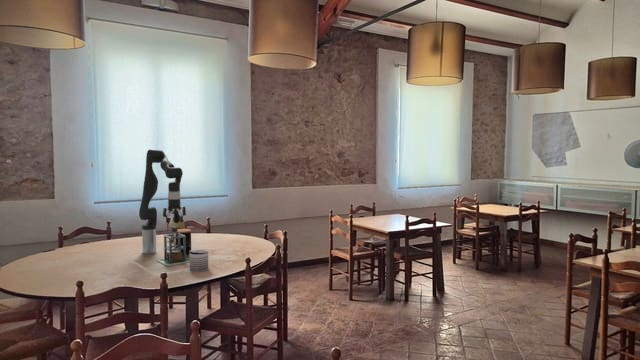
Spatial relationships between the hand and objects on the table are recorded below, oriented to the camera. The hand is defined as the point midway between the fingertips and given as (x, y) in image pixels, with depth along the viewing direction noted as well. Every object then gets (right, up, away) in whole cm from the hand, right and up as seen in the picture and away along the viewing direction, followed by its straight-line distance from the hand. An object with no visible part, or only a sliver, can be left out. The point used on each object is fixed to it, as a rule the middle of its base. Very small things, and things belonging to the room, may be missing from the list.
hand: (174, 222), depth 283 cm
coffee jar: (-1, -25, +22) cm, 34 cm away
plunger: (0, -19, +2) cm, 19 cm away
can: (+20, -28, -13) cm, 36 cm away
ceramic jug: (-22, -22, +73) cm, 79 cm away
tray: (0, -27, +2) cm, 27 cm away
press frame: (0, -26, +2) cm, 26 cm away
